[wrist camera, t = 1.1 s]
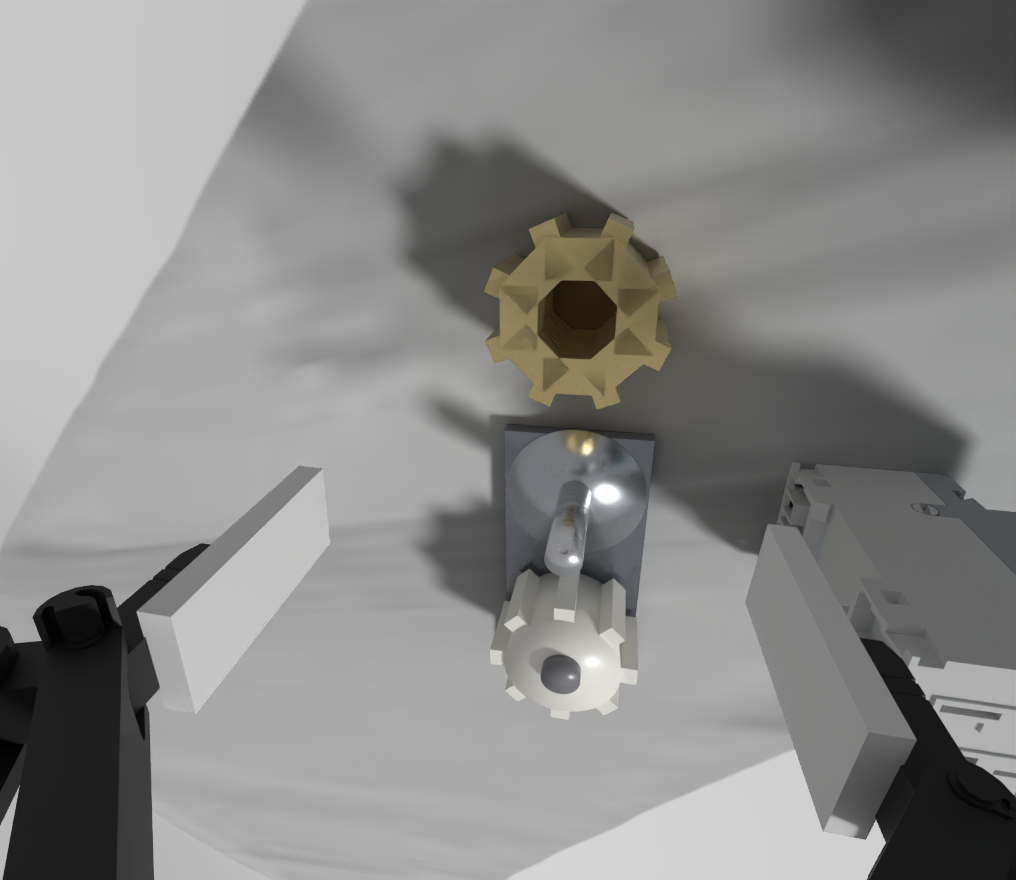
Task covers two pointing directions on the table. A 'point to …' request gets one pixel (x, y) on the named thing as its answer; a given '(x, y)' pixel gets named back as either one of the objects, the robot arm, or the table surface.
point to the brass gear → (580, 352)
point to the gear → (566, 642)
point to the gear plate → (591, 562)
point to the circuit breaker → (923, 589)
